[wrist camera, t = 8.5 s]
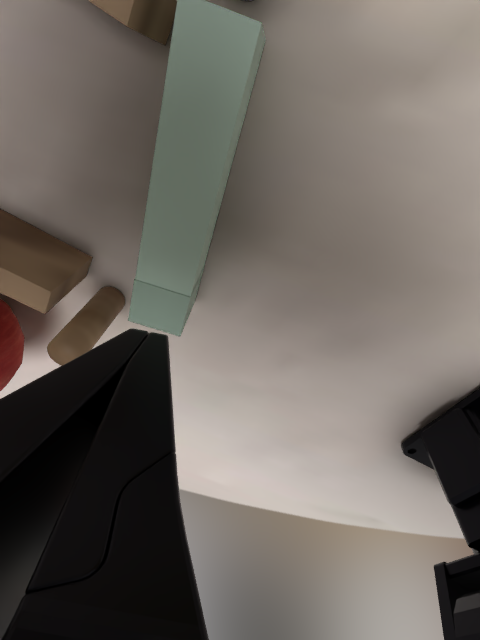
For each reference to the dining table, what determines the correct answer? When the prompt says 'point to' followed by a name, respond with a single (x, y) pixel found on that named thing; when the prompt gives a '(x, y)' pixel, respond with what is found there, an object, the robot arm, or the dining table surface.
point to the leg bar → (192, 156)
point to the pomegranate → (9, 344)
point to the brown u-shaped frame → (58, 257)
